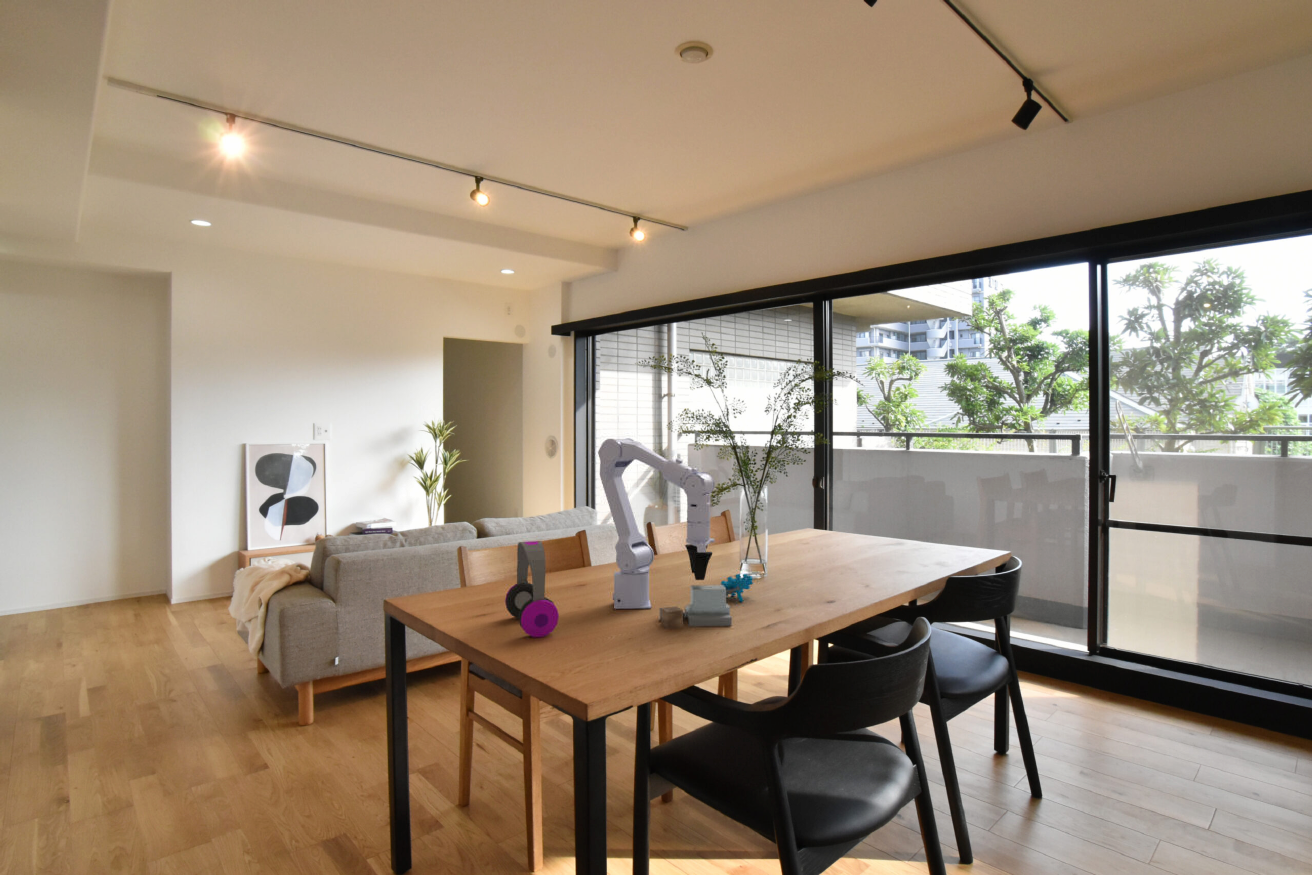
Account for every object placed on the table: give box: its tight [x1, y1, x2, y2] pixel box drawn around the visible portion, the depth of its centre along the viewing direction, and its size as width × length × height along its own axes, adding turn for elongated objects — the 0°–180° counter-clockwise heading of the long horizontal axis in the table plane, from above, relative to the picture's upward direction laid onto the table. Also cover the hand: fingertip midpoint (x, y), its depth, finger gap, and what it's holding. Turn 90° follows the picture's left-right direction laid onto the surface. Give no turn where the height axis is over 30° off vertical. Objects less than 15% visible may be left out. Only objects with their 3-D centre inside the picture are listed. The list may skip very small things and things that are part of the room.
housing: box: [686, 584, 731, 615], centre depth 164 cm, size 10×4×6 cm, turn 94°
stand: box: [684, 606, 733, 627], centre depth 164 cm, size 10×10×2 cm
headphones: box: [504, 540, 560, 638], centre depth 159 cm, size 21×9×20 cm, turn 23°
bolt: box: [659, 607, 686, 621], centre depth 165 cm, size 6×3×3 cm, turn 94°
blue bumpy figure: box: [720, 573, 754, 603], centre depth 184 cm, size 11×6×10 cm
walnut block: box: [660, 605, 684, 630], centre depth 160 cm, size 4×4×4 cm
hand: (697, 576), depth 169 cm, fingers open, 7 cm apart
